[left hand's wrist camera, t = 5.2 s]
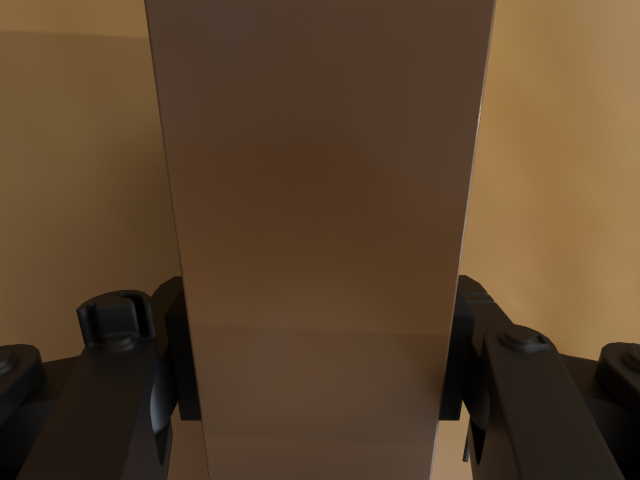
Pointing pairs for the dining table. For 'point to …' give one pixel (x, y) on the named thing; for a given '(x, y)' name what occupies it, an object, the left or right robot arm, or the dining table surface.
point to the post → (320, 221)
